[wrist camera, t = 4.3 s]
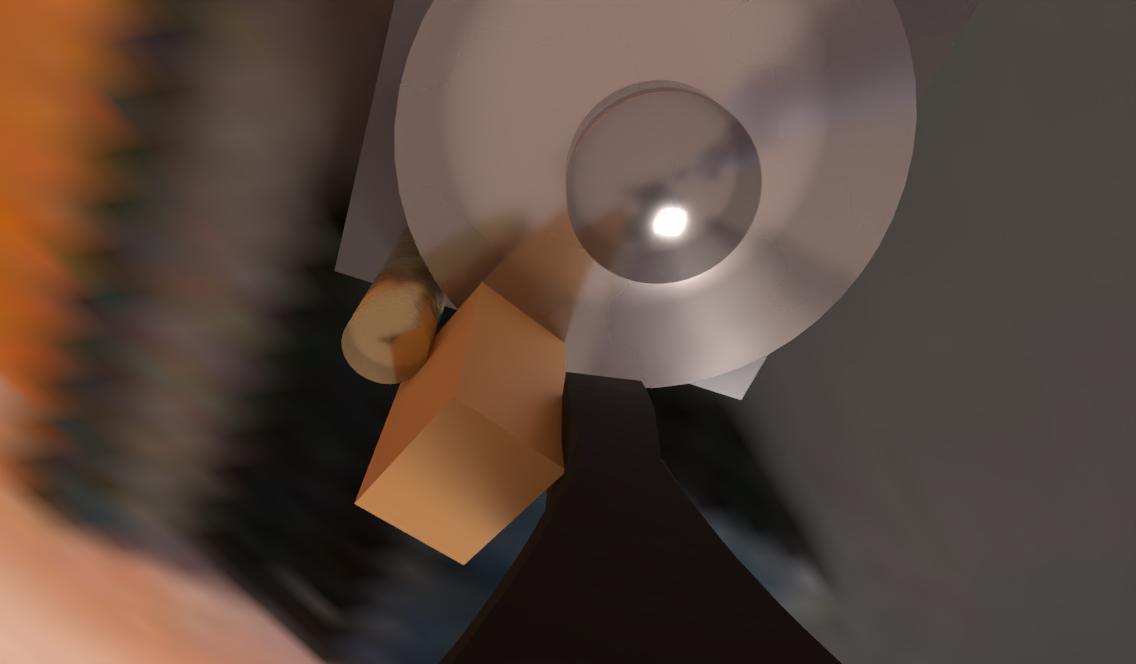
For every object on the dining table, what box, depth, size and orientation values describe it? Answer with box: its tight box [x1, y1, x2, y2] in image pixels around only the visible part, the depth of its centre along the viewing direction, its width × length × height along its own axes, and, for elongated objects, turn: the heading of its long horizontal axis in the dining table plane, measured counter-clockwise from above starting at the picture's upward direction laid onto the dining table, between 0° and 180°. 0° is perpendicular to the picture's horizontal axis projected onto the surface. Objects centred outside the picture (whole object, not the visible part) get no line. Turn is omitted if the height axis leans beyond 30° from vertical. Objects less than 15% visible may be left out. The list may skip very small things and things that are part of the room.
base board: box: [335, 0, 980, 400], centre depth 10 cm, size 9×9×4 cm
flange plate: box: [354, 0, 917, 565], centre depth 8 cm, size 8×7×4 cm
